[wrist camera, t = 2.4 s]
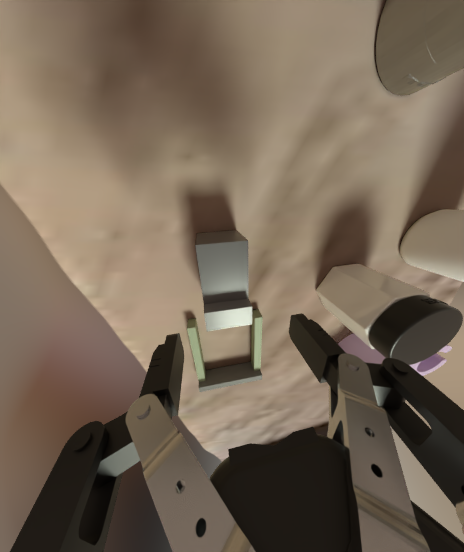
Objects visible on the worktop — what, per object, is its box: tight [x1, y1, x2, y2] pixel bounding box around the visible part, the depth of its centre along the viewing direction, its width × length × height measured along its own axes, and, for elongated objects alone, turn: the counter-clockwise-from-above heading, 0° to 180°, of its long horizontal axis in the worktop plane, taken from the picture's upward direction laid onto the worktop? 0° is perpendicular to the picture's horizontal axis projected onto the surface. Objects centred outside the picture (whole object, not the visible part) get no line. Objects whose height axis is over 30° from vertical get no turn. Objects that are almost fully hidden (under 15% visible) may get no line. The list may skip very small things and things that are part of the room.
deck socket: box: [187, 309, 262, 392], centre depth 28 cm, size 14×11×3 cm
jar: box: [316, 264, 463, 365], centre depth 22 cm, size 9×8×12 cm
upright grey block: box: [195, 230, 252, 331], centre depth 19 cm, size 9×5×8 cm, turn 3°
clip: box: [338, 333, 452, 376], centre depth 34 cm, size 20×12×7 cm, turn 110°
